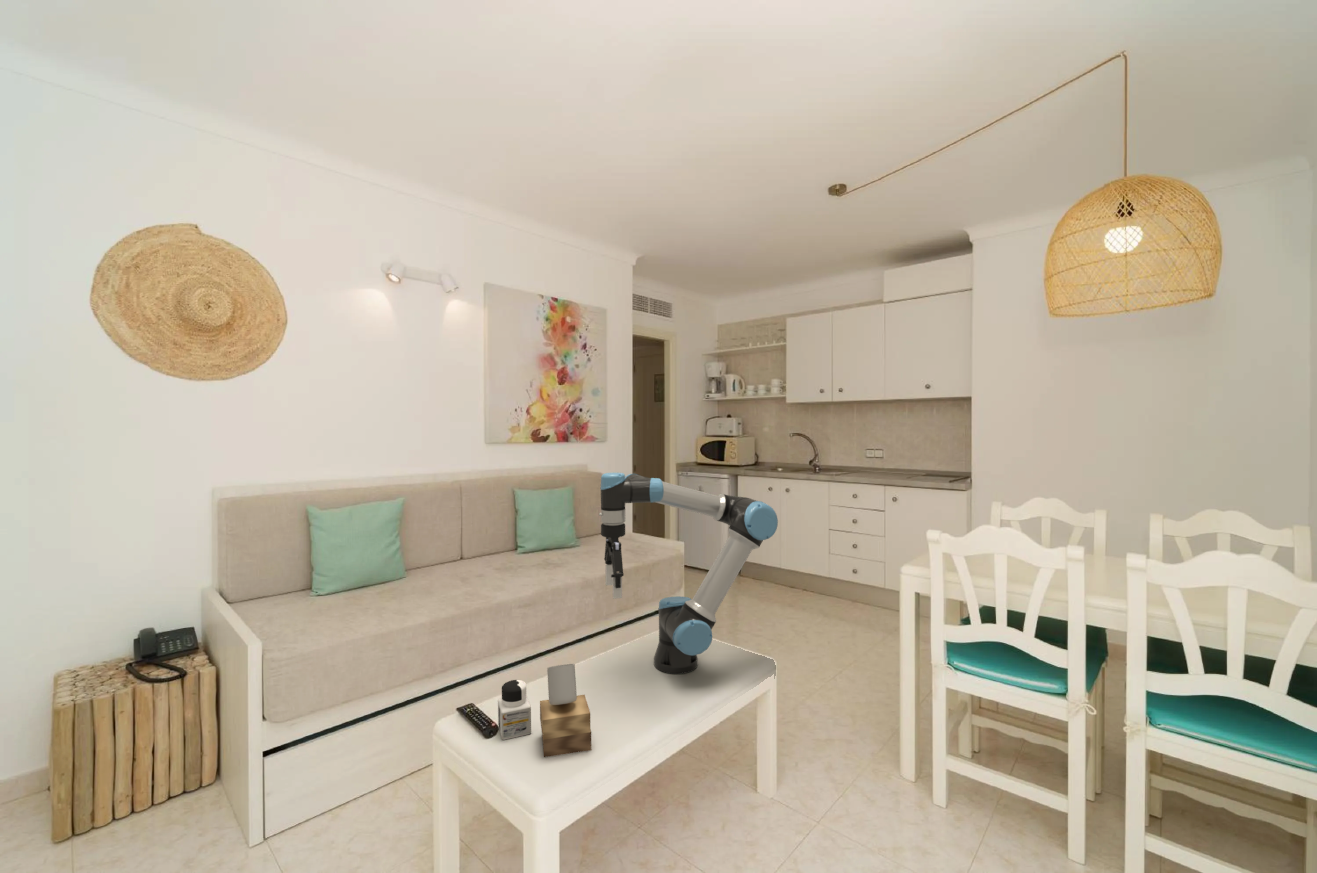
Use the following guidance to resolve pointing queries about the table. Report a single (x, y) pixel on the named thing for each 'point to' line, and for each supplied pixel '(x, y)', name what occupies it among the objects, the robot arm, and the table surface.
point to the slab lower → (567, 744)
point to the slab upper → (564, 718)
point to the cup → (562, 684)
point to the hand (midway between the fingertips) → (613, 591)
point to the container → (514, 710)
